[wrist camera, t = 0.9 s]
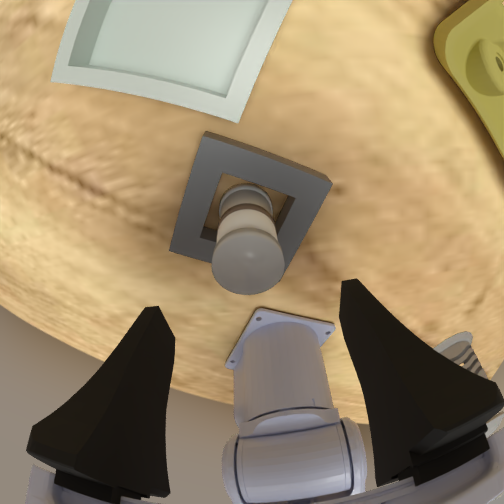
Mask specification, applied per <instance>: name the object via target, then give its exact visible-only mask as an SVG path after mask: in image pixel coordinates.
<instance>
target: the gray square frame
mask: <svg viewBox="0 0 504 504" xmlns="http://www.w3.org/2000/svg"><path fill="white" fill-rule="evenodd" d="M222 172H223V173H226V174H229V175H232V176H235V177H238V178H241V179H244V180H247V181H250V182H253V183H256V184H258V185H261V186H264V187H267V188H270V189H273V190H275V191H278V192H281V193H284V194H286V195H289V196H288V198H287V200H286V202H285V204H284V206H283V208H282V210H281V212H280V215H279V217H278V219H277V221H276V223H275V227H276V234H277V239H278V242H279V244H280V246H281V249H282V253H283V258H284V263H285V267H284V272H283V274H284V273H285V271H286V269H287V267H288V266H289V264H290V262H291V260H292V258H293V257H294V255H295V253H296V251H297V249H298V248H299V246H300V244H301V242H302V240H303V239H304V237H305V235H306V233H307V231H308V229H309V228H310V226H311V224H312V222H313V220H314V218H315V216H316V215H317V213H318V211H319V209H320V207H321V205H322V203H323V201H324V199H325V198H326V196H327V194H328V192H329V190H330V188H331V186H332V184H333V183H332V182H331V181H330V180H329V178H328V177H327V176H326V175H324V174H322V173H319V172H317V171H315V170H312V169H310V168H308V167H305V166H303V165H300V164H298V163H295V162H293V161H290V160H288V159H285V158H283V157H280V156H277V155H275V154H272V153H269V152H267V151H264V150H261V149H258V148H256V147H253V146H250V145H247V144H244V143H241V142H238V141H235V140H233V139H229V138H226V137H223V136H220V135H217V134H214V133H211V132H208V131H206V132H205V133H204V135H203V137H202V140H201V143H200V146H199V149H198V152H197V155H196V158H195V161H194V164H193V167H192V171H191V174H190V177H189V180H188V184H187V187H186V190H185V194H184V197H183V201H182V204H181V208H180V211H179V215H178V218H177V222H176V226H175V229H174V233H173V237H172V241H171V245H170V249H169V251H171V252H174V253H177V254H181V255H184V256H188V257H191V258H195V259H198V260H202V261H205V262H209V263H212V258H213V251H214V248H215V246H216V243H217V230H214V229H210V228H207V227H204V223H205V220H206V217H207V214H208V211H209V208H210V205H211V203H212V200H213V197H214V194H215V191H216V188H217V185H218V183H219V180H220V177H221V174H222ZM282 276H283V275H282ZM281 278H282V277H281ZM280 280H281V279H280ZM280 280H279V281H280ZM279 281H278V282H279Z"/></svg>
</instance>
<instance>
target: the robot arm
mask: <svg viewBox="0 0 504 504" xmlns="http://www.w3.org/2000/svg"><path fill="white" fill-rule="evenodd" d="M257 317H259V318H257ZM339 319H340V323H341V328H342V332H343V336H344V340H345V342H346V345H347V348H348V351H349V353H350V356H351V359H352V362H353V365H354V367H355V370H356V373H357V376H358V379H359V381H360V384H361V388H362V391H363V395H364V399H365V404H366V409H367V414H368V420H369V425H370V431H371V438H372V445H373V453H374V465H375V479H376V484H377V487H379V486H383V485H385V484H389V483H392V482H395V481H398V480H399V481H398V482H396V483H393V484H390V485H387V486H383V487H380V488H377V489H373V490H370V491H366V492H365V480H366V477H367V463H366V454H365V449H364V444H363V440H362V436H361V433H360V430H359V428H358V425H357V424H356V423H355V422H354V421H352V420H350V418H348V417H344V418H341V419H340V417H339V412H338V408H334V406H333V401H332V397H331V392H330V388H329V383H328V379H327V374H326V370H325V366H324V361H323V357H322V353H321V349H320V347H321V346H322V345H323V343H324V342H325V341H326V340H327V339H328V338H329V336H330V335H331V334H332V333H333V332H334V331H335V329H336V327H335V325H334V324H332V323H327V322H322V321H318V320H313V319H308V318H304V317H299V316H294V315H290V314H286V313H281V312H277V311H272V310H268V309H264V308H259V309H257V310H256V311H255V312H254V314H253V316H252V318H251V319H250V321H249V323H248V325H247V326H246V328H245V330H244V332H243V333H242V335H241V337H240V339H239V340H238V342H237V344H236V346H235V347H234V349H233V351H232V352H231V354H230V356H229V358H228V359H227V361H226V363H225V367H226V368H228V369H233V370H234V418H235V422H236V424H237V426H238V427H239V434H234V435H232V436H231V438H230V439H229V441H228V442H227V443H226V445H225V447H224V450H223V454H222V476H223V481H224V486H225V489H226V492H227V494H228V495H229V497H230V498H231V500H232V503H233V504H380V503H381V504H488V503H489V502H490V501H492V500H493V499H494V498H496V497H497V496H498V495H499V494H501V493H502V492H503V491H504V427H503V428H502V429H500V430H499V431H497V432H496V433H494V434H492V435H491V436H489V437H488V438H486V435H485V433H486V432H487V431H488V427H487V425H486V422H488V421H489V420H490V419H491V418H492V417H493V416H495V415H496V414H497V413H498V412H499V411H500V410H501V409H502V408H503V407H504V399H503V396H502V394H501V392H500V390H499V388H498V386H497V384H496V383H495V382H493V381H491V380H488V379H486V378H484V377H482V376H479V375H477V374H475V373H473V372H471V371H469V370H467V369H465V368H463V367H461V366H459V365H458V364H456V363H454V362H453V361H451V360H450V359H448V358H446V357H445V356H443V355H442V354H440V353H438V352H437V351H436V350H434V349H433V348H431V347H430V346H429V345H427V344H426V343H425V342H423V341H422V340H421V339H419V338H418V337H417V336H416V335H414V334H413V333H412V332H411V331H410V330H409V329H407V328H406V327H405V326H404V325H403V324H402V323H401V322H400V321H399V320H397V319H396V318H395V317H394V316H393V315H392V314H391V313H390V312H389V311H388V310H387V309H386V308H385V307H384V306H383V305H382V304H381V303H380V302H379V301H378V300H377V299H376V298H375V297H374V296H373V295H372V294H371V293H370V292H369V291H368V289H367V288H366V287H365V286H364V285H363V284H362V283H361V282H360V281H359V280H358V279H351V280H345V281H342V285H341V299H340V311H339ZM174 356H175V337H174V335H173V333H172V331H171V329H170V327H169V325H168V323H167V321H166V320H165V318H164V316H163V314H162V312H161V310H160V308H159V306H153V307H145V308H144V310H143V311H142V312H141V314H140V315H139V316H138V318H137V319H136V321H135V322H134V323H133V325H132V326H131V328H130V329H129V330H128V332H127V333H126V334H125V336H124V337H123V339H122V340H121V341H120V343H119V344H118V346H117V347H116V348H115V349H114V351H113V352H112V353H111V355H110V356H109V357H108V358H107V360H106V361H105V362H104V364H103V365H102V366H101V367H100V368H99V370H98V371H97V372H96V373H95V374H94V375H93V376H92V377H91V379H90V380H89V381H88V382H87V383H86V384H85V385H84V386H83V387H82V388H81V389H80V390H79V391H78V392H77V393H76V394H74V395H73V396H72V397H71V398H70V399H69V400H68V401H67V402H66V403H64V404H63V405H62V406H61V407H60V408H58V409H57V410H56V411H54V412H53V413H52V414H50V415H49V416H47V417H46V418H44V419H43V420H41V421H40V422H38V423H37V424H35V425H33V427H32V430H31V433H30V437H29V441H28V445H27V449H26V451H27V453H28V454H30V455H31V456H33V457H34V458H36V459H38V460H40V461H42V462H43V463H45V464H47V465H49V466H51V467H53V468H55V469H56V474H54V473H52V472H50V471H48V470H45V469H43V468H41V467H38V466H36V465H32V468H31V473H30V478H29V484H28V490H27V495H26V503H25V504H159V503H153V502H147V501H142V500H141V497H144V498H150V496H156V497H163V498H165V497H167V496H168V495H169V494H170V487H169V480H168V472H167V462H166V443H165V442H166V441H165V427H166V408H167V401H168V394H169V389H170V383H171V377H172V371H173V365H174Z"/></svg>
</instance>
